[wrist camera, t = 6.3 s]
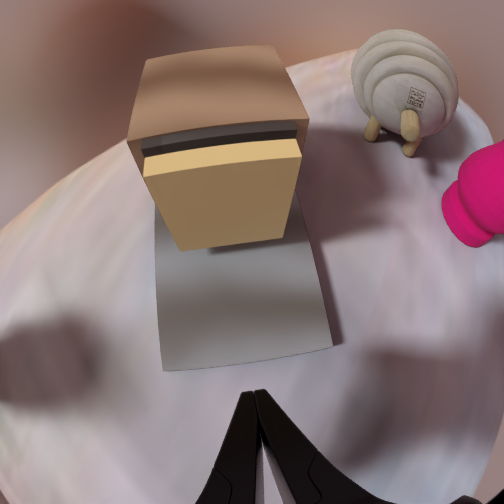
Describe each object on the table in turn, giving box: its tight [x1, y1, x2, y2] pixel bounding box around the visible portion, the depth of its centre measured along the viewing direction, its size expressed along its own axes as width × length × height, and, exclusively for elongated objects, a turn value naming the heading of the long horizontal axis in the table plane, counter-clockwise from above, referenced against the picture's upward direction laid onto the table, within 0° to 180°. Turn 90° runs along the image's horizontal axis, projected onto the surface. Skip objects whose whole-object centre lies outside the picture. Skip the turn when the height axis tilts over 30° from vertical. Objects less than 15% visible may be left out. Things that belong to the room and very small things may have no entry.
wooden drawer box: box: [126, 45, 333, 371], centre depth 15 cm, size 18×10×9 cm, turn 9°
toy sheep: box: [351, 29, 458, 157], centre depth 20 cm, size 11×17×11 cm, turn 165°
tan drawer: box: [143, 139, 302, 252], centre depth 15 cm, size 11×6×7 cm, turn 9°
